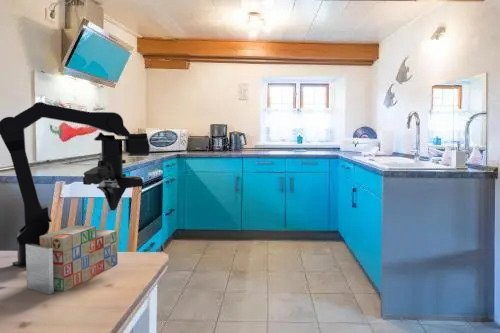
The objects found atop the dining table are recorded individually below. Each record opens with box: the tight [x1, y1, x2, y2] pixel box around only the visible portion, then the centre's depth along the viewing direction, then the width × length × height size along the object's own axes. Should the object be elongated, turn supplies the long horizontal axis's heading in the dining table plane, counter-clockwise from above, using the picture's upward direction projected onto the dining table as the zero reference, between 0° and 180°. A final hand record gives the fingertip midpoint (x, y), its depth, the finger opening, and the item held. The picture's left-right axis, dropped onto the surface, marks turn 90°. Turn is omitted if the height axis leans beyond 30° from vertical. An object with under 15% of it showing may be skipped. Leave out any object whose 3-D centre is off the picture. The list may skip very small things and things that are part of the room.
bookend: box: [25, 243, 55, 295], centre depth 94 cm, size 8×1×10 cm, turn 61°
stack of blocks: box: [40, 224, 119, 292], centre depth 105 cm, size 21×6×12 cm, turn 165°
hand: (112, 210), depth 124 cm, fingers closed
